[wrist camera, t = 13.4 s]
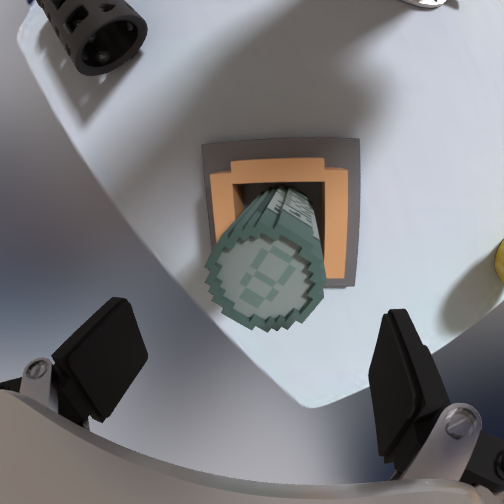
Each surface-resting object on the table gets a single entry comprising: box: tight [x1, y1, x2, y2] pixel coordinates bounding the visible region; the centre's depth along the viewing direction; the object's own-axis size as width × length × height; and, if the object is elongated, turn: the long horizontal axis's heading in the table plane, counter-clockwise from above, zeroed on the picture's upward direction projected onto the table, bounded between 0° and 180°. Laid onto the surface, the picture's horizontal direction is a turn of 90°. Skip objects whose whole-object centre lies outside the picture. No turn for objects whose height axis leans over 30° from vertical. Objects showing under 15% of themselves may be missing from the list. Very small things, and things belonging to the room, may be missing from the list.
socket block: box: [202, 138, 360, 287], centre depth 26 cm, size 16×16×5 cm
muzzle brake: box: [36, 0, 148, 76], centre depth 17 cm, size 10×28×10 cm, turn 36°
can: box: [204, 184, 327, 332], centre depth 21 cm, size 6×6×15 cm
